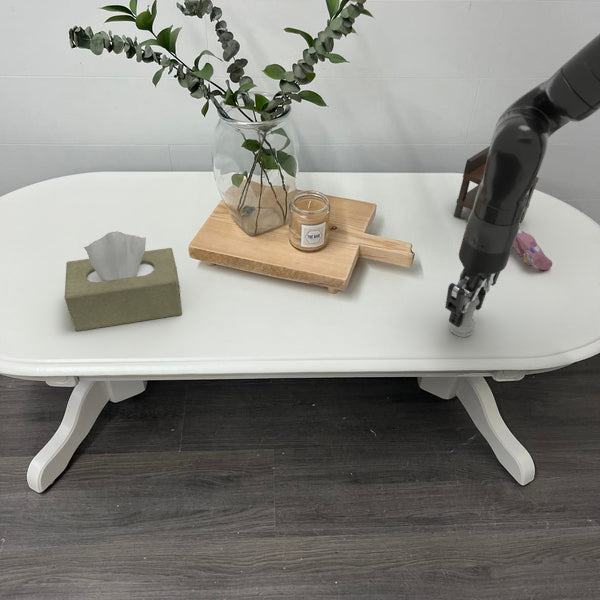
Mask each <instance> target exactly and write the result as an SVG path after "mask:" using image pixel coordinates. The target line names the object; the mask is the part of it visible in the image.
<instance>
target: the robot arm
mask: <svg viewBox="0 0 600 600" xmlns="http://www.w3.org/2000/svg"><path fill="white" fill-rule="evenodd" d="M599 110H600V33H599V34H597V35H596V36H595V37H593V38H592V39H590V41H589V42H587V43H586V44H585V45H584V46H583V47H581V49H579V50H578V51H577V52H576V53H575V54H574V55H573V56H572V57H570V58H569V59H568V60H567V61H566V62H564V64H562V65H561V66H560V67H559V68H558V69H557V70H556V71H555V72H554V73H553V74H552V75H551V76H550V77H549V78H548V79H546V80H544V81H542V82H540V83H539V84H538V85H536V86H534V88H531V89H530V90H529V91H527V92H526V93H524V94H522V95H521V96H520V97H518V98H517V99H516V100H515V101H514V102H513V103H511V104H510V105H509V106H508V107H507V108H506V109H505V110H504V111H503V112H502V114H501V115H500V116H499V117H498V119H497V121H496V123H495V126H494V130H493V134H492V138H491V141H490V145H489V146H490V148H489V153H488V157H487V162H486V166H485V171H484V176H483V179H482V181H481V183H480V185H479V189H478V192H477V195H476V199H475V202H474V206H473V209H472V210H471V212H470V214H469V216H468V218H467V221H466V226H465V229H464V232H463V236H462V241H461V243H460V247H459V251H458V259H459V261H460V263H461V265H462V267H463V268H462V270H461V272H460V274H459V280H458V282H457V284H455V283H453V282H450V284H449V285H448V288H447V294H446V301H445V309H446V310H448V311H449V312H450V315H449V318H448V323H449V322H450V323H451V324H453V325H455V326H456V327H460V326H461V325H462V323H463V320H464V316H465V313H466V311H467V308H468V306H469V304H470V302H472V301H474V300H475V299H476V297H477V296H478V299H479V304H478V305H477V306H476V310H475V311H479V310H481V309H482V308H483V304H484V301H485V299H486V295H487V294H488V293H489V292H490V289H491V286H492V287H494V286H495V285H496V284H497V281H498V278H499V277H500V273H501V272H502V271H503V270H505V268H506V267H507V265H508V262H509V259H510V256H511V254H512V251H513V248H514V242H515V239H516V237H517V234H518V230H519V229H520V226H521V225H520V224H521V223H520V220H521V217H522V214H523V211H524V208H525V205H526V203H527V199H528V195H529V191H530V188H531V186H532V185H533V182H534V180H535V178H536V177H538V174H539V172H540V169H541V167H542V165H543V161H544V159H545V156H546V153H547V151H548V150H547V149H548V144H549V138H550V137H551V136H552V135H553V134H555V133H556V132H557V131H558V130H559V129H561V128H563V127H564V126H566V125H567V124H568V123H570V122H573V123H578V122H582V121H584V120H586V119H588V118H589V117H591V116H593V114H595V113H596V112H597V111H599ZM466 291H467V292H468V293H469V292H472V295H470V294H468V293H466ZM464 299H465V303H464ZM463 303H464V305H463Z"/></svg>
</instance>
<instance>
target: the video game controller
mask: <svg viewBox="0 0 600 600" xmlns="http://www.w3.org/2000/svg"><path fill="white" fill-rule="evenodd" d="M513 248H514V249H515V251H516V253H517V254H518V256H520V257H521V256H523V259H524V260H523V261H524V263H526V264H527V265H528V266H534V267H536V268H538V269H540V270H543V271H548V270H550V269H551V268H552V267H553V261H552V259H550V258H549V257H548V256H546V254H545V253H544V250H542V248H541V247H540V246H539V244H538V243H537V241H536V239H535V237H533V235H531V234H529V233H527V232H525V231H523V229H522V228H519V230H518V234H517V237H516V239H515V242H514V245H513Z"/></svg>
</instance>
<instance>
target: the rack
mask: <svg viewBox="0 0 600 600" xmlns="http://www.w3.org/2000/svg"><path fill="white" fill-rule="evenodd" d="M489 148H490V145H489V146H487V147H486V148H484V149H482V150H481V151H479V152H477V153H476V154H474V155H472V156H470V157H469V158H467V159H466V162H465V165H464V169H463V175H462V181H461V185H460V189H459V194H458V198H457V199H456V202H455V203H456V205H455V209H454V213H453V217H455V218H456V219H459V218H461V217H462V214H463V210H464V208H466V209H469V210H470V211H472V209H473V206H474V202H475V199H476V195H477V192H478V189H479V185H480V183H481V181H482V179H483V176H484V171H485V166H486V162H487V157H488V153H489ZM539 179H540V178H539V177H538V176H536V178H535V180H534V182H533V185H532V186H531V188H530V191H529V195H528V199H527V203H526V205H525V208H524V211H523V214H522V217H521V220H520V224H522V223H523V222H524V219H525V216H526V214H527V211H528V209H529V207H530V203H531V199H532V197H533V194H534V191H535V189H536V185H537V183H538V181H539ZM470 183H474V184H476V186H475V187H473V188H471V189H470V190H469V187H470Z"/></svg>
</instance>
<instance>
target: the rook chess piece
mask: <svg viewBox="0 0 600 600" xmlns="http://www.w3.org/2000/svg"><path fill="white" fill-rule="evenodd" d="M466 293H468V294H470V295H472V292H469V291H467V290H466ZM464 303H465V299H464ZM464 303H463V305H464ZM478 304H479V299H478V296H477V297H476V299H475V300H474V301H472V302H470V304H469V306H468V308H467V311H466V313H465V316H464V320H463V323H462V325H461V326H460V327H456V326H455V325H453V324H451V323H450V322H449V321H448V328H449V330H450V332H451V333H452V334H453V335H455V336H457V337H461V338H465V337H466V338H467V337H469V336H471V335H472V334H473V333H474V331H475V325H476V324H475V321H474V312H475V311H477V310H476V306H477V305H478Z"/></svg>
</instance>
